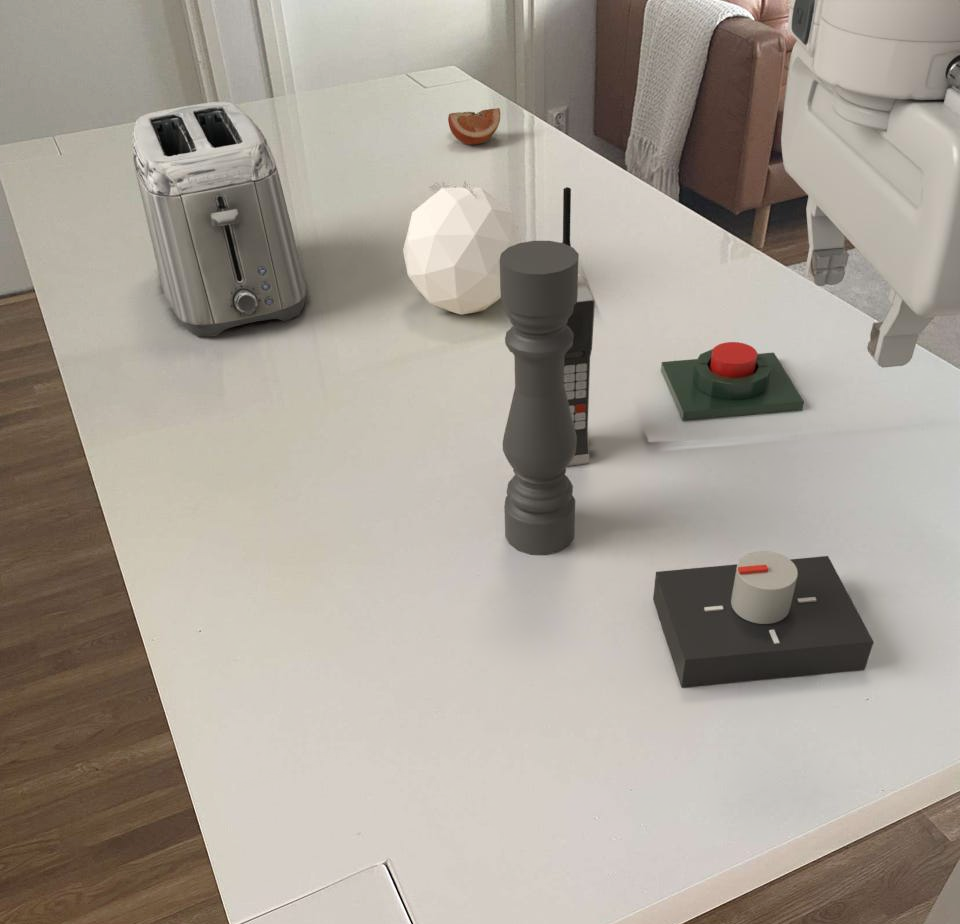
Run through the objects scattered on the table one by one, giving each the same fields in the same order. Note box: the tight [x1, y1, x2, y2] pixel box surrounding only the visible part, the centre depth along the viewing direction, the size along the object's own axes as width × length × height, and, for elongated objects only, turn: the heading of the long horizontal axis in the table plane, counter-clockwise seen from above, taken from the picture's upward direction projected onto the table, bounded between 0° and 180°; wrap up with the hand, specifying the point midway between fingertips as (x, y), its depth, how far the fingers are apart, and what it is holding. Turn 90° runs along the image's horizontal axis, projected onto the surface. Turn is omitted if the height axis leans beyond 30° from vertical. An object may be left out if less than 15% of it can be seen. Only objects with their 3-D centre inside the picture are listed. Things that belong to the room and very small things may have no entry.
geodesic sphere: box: [402, 180, 523, 316], centre depth 117 cm, size 15×14×14 cm
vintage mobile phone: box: [561, 186, 596, 467], centre depth 89 cm, size 4×5×25 cm
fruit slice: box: [447, 107, 501, 145], centre depth 160 cm, size 8×7×5 cm
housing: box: [660, 348, 805, 422], centre depth 102 cm, size 12×10×4 cm
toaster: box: [131, 101, 307, 338], centre depth 121 cm, size 17×30×19 cm, turn 19°
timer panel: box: [652, 555, 874, 689], centre depth 78 cm, size 14×10×3 cm
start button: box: [710, 341, 758, 378], centre depth 101 cm, size 4×4×2 cm
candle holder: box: [500, 240, 580, 556], centre depth 81 cm, size 6×6×25 cm
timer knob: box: [731, 550, 798, 624], centre depth 76 cm, size 4×4×4 cm
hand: (853, 317), depth 55 cm, fingers open, 8 cm apart
